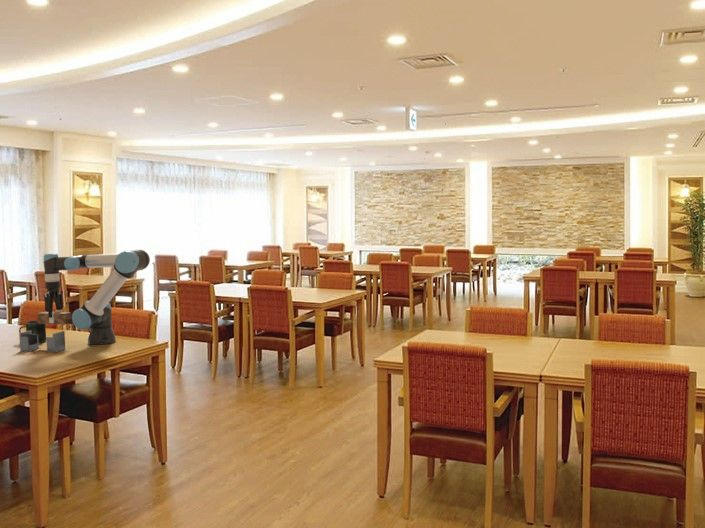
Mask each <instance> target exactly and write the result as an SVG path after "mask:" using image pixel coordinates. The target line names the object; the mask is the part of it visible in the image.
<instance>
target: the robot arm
mask: <svg viewBox="0 0 705 528" xmlns="http://www.w3.org/2000/svg"><path fill="white" fill-rule="evenodd" d="M150 261H151V258H150V256H149V253H148V252H147V251H145V250H143V249H131V250H124V251H122V252H121V251H120V252H119V253H104V254H103V253H99V254H98V253H97V254H79V255H73V256H72V255H71V256H59V255H58V253H46V254H43V269H44V281H45V282H44V283H45V284H44V285H45V289H46V292H45V293H43V298H44V310H45V311H44V312H48V315H49V323H54V312H62V310H63V309H64V300H63V294H64V293H63V292H64V291H63V290H60V288H61V282H60V280H61V279H60V278H61V277H60V271H76V270H79V269H93V268H94V269H95V268H96V269H97V268H100V269H101V268H113V270H112V272H111V273H110V274H109V276H108V277H107V278H106V279H105V280H104V282H103V283H102V284H101V285H100V287H99V288H98V290H96V292H95V293H94V294H93V296H92V297H91V298H90V300H86V301H85V302H84V303H83V304H82V306H81V307H80V308H77V309H75V310H74V311H73V313H71V321H72V323H73V326H75V328H77V329H78V330H88V329H90V331H89V334H88V338H87V344H88V345H94V346H95V345H107V344H112V343H116V342H117V338H116V335H115V332H114V329H113V325H112V324H113V321H112V320H113V319H112V318H113V317H112V305H111V303H110V302H111V300H112V299H113V298H114V297H115V295H116V294H117V293H118V291H119V290H120V289H121V288H122V286H123V285H124V284H125V282H126V281H127V280H131V279H132V278H133V277H134V275H135V274H136V273H137V272H138V271H143V270H145V269H147V268H148V266H149V265H150V263H151V262H150ZM54 306H55V309H56V310H55V311H53V310H54Z"/></svg>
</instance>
